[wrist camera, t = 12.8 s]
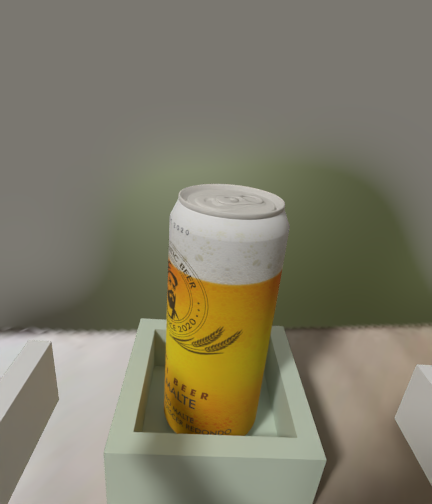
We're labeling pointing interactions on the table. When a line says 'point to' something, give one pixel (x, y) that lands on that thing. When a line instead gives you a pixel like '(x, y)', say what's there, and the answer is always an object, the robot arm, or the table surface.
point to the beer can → (220, 305)
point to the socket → (211, 439)
